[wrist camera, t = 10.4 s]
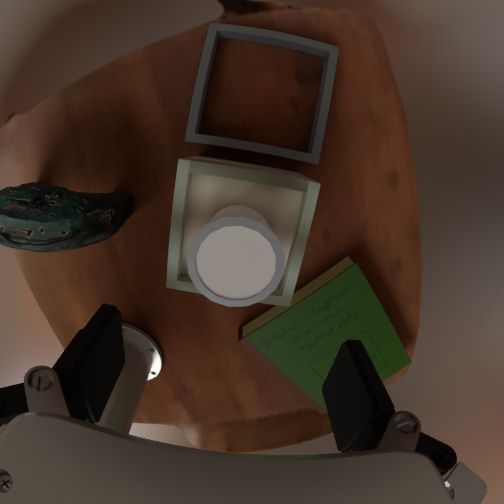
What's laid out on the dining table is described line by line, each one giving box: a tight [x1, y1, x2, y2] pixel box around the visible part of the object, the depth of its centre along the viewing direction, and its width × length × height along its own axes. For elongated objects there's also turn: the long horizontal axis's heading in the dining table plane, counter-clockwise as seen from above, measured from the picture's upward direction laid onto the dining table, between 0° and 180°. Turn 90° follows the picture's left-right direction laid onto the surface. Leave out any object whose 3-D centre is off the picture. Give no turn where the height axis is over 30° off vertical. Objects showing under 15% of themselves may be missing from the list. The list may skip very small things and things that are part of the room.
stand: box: [166, 156, 321, 307], centre depth 29 cm, size 12×12×10 cm
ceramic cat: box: [0, 182, 133, 252], centre depth 24 cm, size 20×6×20 cm, turn 80°
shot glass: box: [187, 205, 285, 307], centre depth 23 cm, size 7×7×7 cm
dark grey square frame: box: [185, 23, 339, 165], centre depth 28 cm, size 15×15×2 cm
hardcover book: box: [238, 256, 411, 415], centre depth 41 cm, size 25×19×4 cm
